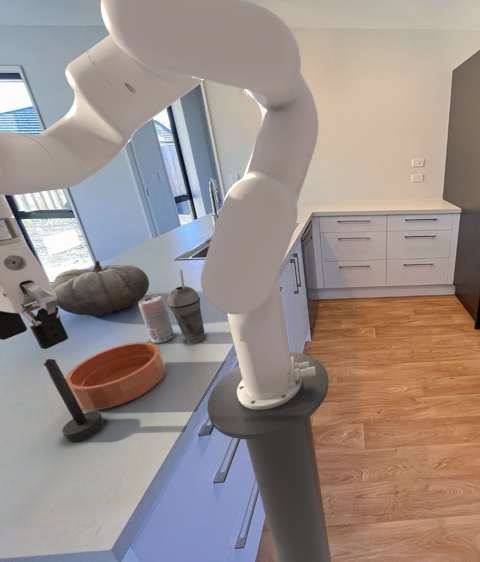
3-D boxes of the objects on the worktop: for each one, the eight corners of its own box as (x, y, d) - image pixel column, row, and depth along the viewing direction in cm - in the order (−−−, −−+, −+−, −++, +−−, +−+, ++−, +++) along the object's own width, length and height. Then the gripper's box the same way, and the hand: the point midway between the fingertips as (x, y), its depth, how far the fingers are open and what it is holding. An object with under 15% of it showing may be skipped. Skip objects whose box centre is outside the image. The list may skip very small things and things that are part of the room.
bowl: (176, 358, 75) (169, 337, 73) (149, 403, 61) (140, 380, 58) (103, 369, 71) (94, 348, 69) (57, 420, 57) (43, 396, 55)
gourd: (96, 324, 86) (71, 266, 82) (38, 329, 93) (12, 275, 88) (170, 295, 110) (154, 249, 105) (120, 301, 116) (102, 258, 112)
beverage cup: (176, 339, 83) (154, 272, 75) (204, 329, 87) (186, 264, 80) (185, 350, 78) (162, 279, 70) (214, 338, 83) (196, 270, 75)
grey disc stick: (110, 416, 58) (76, 347, 52) (94, 438, 53) (55, 366, 47) (78, 422, 57) (40, 352, 51) (59, 445, 52) (15, 372, 46)
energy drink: (169, 331, 87) (157, 293, 82) (178, 336, 84) (165, 298, 79) (148, 339, 83) (134, 300, 78) (156, 346, 80) (142, 306, 75)
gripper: (56, 230, 42) (99, 334, 49) (-21, 225, 47) (28, 321, 53) (-22, 244, 35) (41, 362, 42) (-103, 236, 40) (-35, 344, 46)
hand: (34, 339), depth 47 cm, fingers open, 9 cm apart
